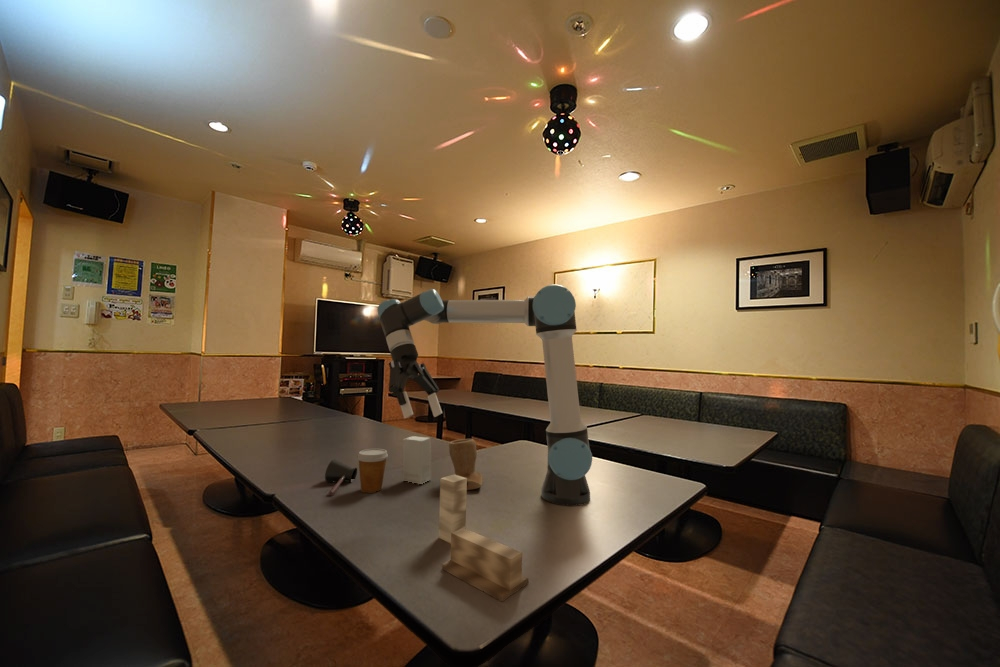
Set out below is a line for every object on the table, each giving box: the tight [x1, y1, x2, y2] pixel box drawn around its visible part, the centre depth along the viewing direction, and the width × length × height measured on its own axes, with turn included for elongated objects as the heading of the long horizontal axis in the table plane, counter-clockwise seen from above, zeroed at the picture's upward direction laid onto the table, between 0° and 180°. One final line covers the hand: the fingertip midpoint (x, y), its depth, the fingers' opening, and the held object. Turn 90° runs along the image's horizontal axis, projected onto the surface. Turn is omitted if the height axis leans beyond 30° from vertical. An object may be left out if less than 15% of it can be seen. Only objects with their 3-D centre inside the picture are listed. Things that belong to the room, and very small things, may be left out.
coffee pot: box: [324, 458, 358, 496], centre depth 130 cm, size 8×18×8 cm
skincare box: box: [402, 435, 432, 485], centre depth 138 cm, size 8×6×15 cm
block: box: [438, 473, 468, 544], centre depth 96 cm, size 4×4×14 cm
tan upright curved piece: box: [448, 438, 483, 491], centre depth 136 cm, size 15×12×15 cm
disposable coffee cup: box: [356, 448, 389, 493], centre depth 128 cm, size 10×10×12 cm
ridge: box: [441, 528, 529, 602], centre depth 80 cm, size 16×8×6 cm, turn 50°
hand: (424, 415), depth 111 cm, fingers open, 13 cm apart
